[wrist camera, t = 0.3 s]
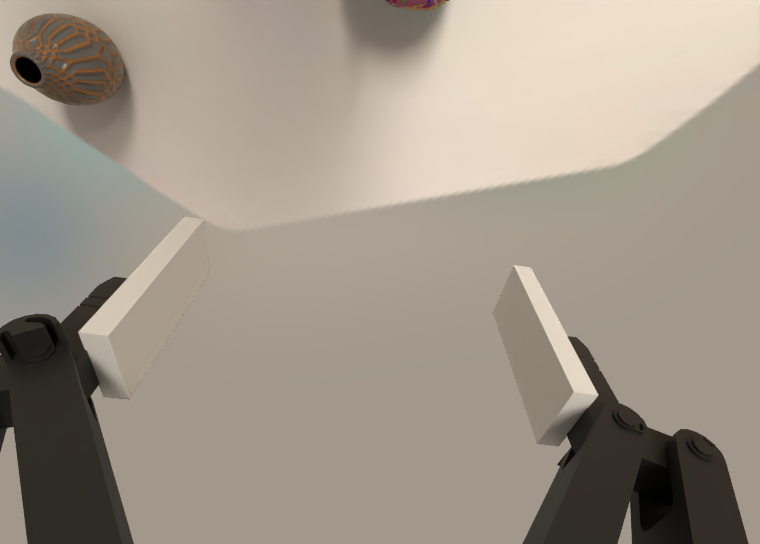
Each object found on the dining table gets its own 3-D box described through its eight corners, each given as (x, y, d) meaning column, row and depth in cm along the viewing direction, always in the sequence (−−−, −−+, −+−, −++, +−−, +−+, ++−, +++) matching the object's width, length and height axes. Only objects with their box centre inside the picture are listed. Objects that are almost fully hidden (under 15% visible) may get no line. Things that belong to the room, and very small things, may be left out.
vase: (71, -8, 34) (-13, -10, 27) (148, 54, 36) (90, 68, 29) (46, 58, 37) (-36, 73, 30) (119, 111, 39) (59, 136, 32)
